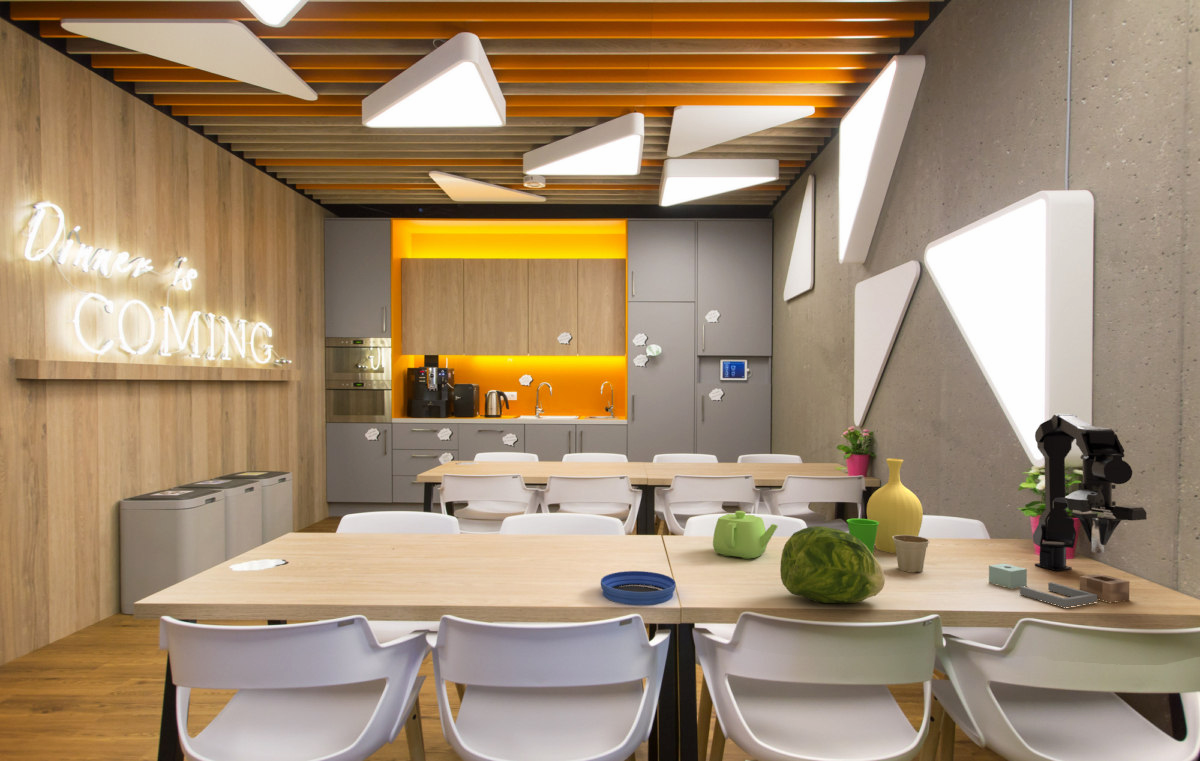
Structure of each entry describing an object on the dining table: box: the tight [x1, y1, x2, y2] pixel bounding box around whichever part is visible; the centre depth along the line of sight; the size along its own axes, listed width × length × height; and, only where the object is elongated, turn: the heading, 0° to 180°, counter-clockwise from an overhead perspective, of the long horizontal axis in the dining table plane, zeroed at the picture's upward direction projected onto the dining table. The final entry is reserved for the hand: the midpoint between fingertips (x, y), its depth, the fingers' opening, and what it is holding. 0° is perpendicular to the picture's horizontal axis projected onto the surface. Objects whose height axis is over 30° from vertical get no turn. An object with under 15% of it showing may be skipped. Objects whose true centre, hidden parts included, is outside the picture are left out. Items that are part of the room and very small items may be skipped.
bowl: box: [600, 570, 677, 606], centre depth 164 cm, size 18×18×4 cm
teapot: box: [712, 510, 779, 560], centre depth 202 cm, size 18×20×13 cm
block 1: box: [988, 563, 1028, 589], centre depth 174 cm, size 6×6×5 cm
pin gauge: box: [1090, 518, 1105, 554], centre depth 165 cm, size 2×2×8 cm
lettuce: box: [779, 525, 886, 604], centre depth 160 cm, size 18×23×19 cm
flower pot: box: [892, 535, 930, 573], centre depth 187 cm, size 9×9×9 cm
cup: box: [845, 518, 879, 556], centre depth 199 cm, size 9×9×11 cm
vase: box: [866, 458, 924, 554], centre depth 211 cm, size 16×16×28 cm
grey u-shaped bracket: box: [1019, 581, 1098, 608], centre depth 162 cm, size 11×11×2 cm
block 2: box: [1079, 573, 1130, 603], centre depth 164 cm, size 7×7×4 cm
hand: (1097, 543), depth 165 cm, fingers closed on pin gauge, 2 cm apart
